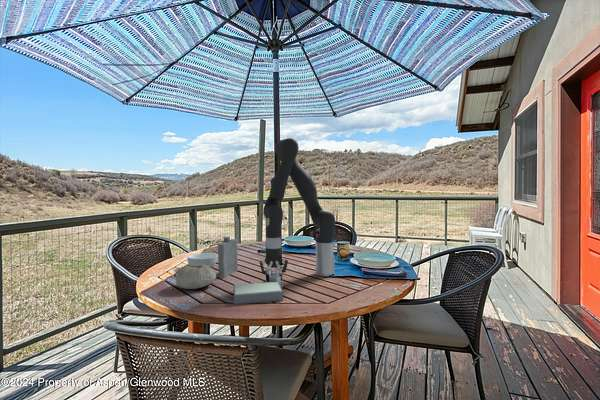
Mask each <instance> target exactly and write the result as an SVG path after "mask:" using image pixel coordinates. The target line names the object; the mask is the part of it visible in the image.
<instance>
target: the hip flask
mask: <svg viewBox="0 0 600 400" xmlns="http://www.w3.org/2000/svg"><path fill="white" fill-rule="evenodd" d="M222 239H223V241H221V242H220V243H219V242H218V243H217V254H218V260H217V262H218V264H217V266H218V267H217V268H218V279H225V278H227V277H228V276H229V275H232V274H233V273H237V272H238V269H239V268H238V239H236V238H232V239H231V237H230V236H223V237H222Z"/></svg>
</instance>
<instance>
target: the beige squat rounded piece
mask: <svg viewBox="0 0 600 400" xmlns="http://www.w3.org/2000/svg"><path fill="white" fill-rule="evenodd" d="M216 279H217V274H216V272H215V270H214V269H213V267H212V266H211V267H208V266H205V265H196V266H195V265H187V266H184V267H182V268H181V269H179V270H178V272H177V274H176V276H175V281H176V284H177V286H178V287H179V288H181V289H185V290H197V289H201V288H203V287H207V286H209V285H211V284H213V283H214V281H216Z"/></svg>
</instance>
